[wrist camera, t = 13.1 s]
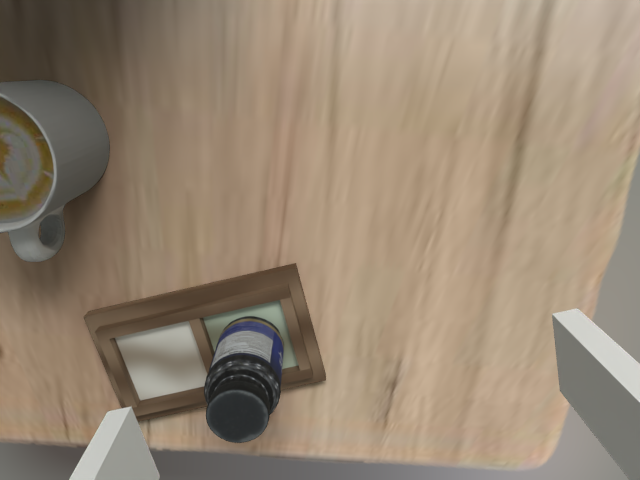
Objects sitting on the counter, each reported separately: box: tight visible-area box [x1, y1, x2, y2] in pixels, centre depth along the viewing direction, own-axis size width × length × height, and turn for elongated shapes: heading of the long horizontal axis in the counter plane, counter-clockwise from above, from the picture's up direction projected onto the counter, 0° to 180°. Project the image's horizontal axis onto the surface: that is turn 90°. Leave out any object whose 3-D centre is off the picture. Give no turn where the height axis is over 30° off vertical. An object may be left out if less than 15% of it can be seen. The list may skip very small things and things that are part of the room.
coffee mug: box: [0, 80, 110, 262], centre depth 40 cm, size 13×10×10 cm
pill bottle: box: [204, 316, 284, 443], centre depth 44 cm, size 6×6×11 cm
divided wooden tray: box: [84, 263, 326, 422], centre depth 50 cm, size 12×20×2 cm, turn 103°
